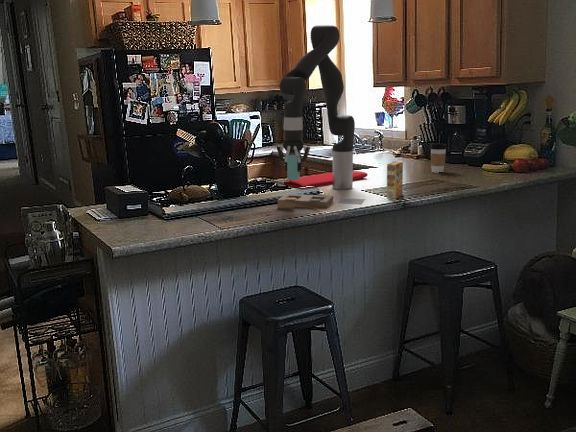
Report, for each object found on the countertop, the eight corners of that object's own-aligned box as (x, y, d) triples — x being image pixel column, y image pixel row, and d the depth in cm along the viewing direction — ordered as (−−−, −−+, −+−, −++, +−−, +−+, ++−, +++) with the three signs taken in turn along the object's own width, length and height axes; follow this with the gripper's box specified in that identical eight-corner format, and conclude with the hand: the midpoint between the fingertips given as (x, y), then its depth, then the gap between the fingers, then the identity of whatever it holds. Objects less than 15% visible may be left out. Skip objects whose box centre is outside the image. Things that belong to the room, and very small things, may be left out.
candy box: (395, 200, 266) (396, 164, 262) (385, 200, 268) (386, 163, 264) (402, 197, 273) (403, 161, 270) (393, 196, 276) (394, 160, 272)
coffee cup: (426, 171, 335) (427, 142, 331) (440, 170, 337) (441, 142, 334) (434, 173, 327) (435, 144, 324) (448, 172, 330) (450, 144, 326)
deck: (341, 200, 268) (341, 198, 268) (365, 201, 265) (365, 199, 265) (336, 205, 259) (336, 203, 258) (361, 206, 256) (361, 204, 256)
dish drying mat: (282, 185, 305) (282, 177, 304) (347, 175, 329) (347, 168, 328) (302, 190, 293) (302, 182, 292) (368, 179, 316) (368, 172, 315)
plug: (290, 178, 259) (289, 151, 257) (299, 178, 258) (299, 152, 256) (287, 179, 255) (287, 153, 253) (297, 180, 254) (296, 153, 252)
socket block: (286, 201, 267) (286, 192, 266) (332, 204, 261) (333, 195, 260) (277, 208, 255) (277, 198, 254) (326, 210, 250) (326, 201, 249)
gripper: (312, 128, 254) (312, 170, 258) (278, 127, 258) (279, 169, 262) (308, 129, 247) (308, 173, 251) (273, 129, 251) (273, 172, 255)
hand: (293, 171), depth 256 cm, fingers closed on plug, 4 cm apart
